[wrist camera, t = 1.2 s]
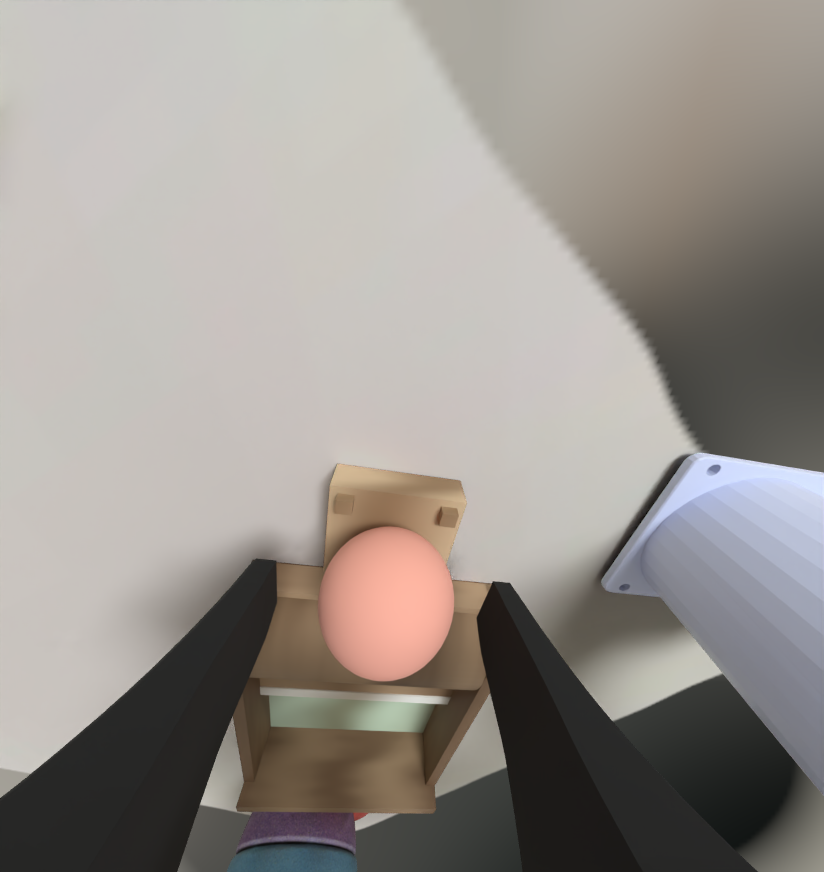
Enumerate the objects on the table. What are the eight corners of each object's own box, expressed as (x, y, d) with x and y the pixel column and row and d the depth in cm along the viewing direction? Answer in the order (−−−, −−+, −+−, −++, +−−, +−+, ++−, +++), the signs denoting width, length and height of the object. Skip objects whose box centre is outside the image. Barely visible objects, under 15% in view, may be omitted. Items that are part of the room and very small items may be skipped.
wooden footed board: (460, 480, 12) (469, 510, 11) (434, 564, 15) (437, 599, 13) (337, 463, 12) (327, 492, 10) (329, 553, 14) (320, 588, 12)
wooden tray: (482, 540, 18) (525, 675, 12) (425, 683, 25) (433, 813, 19) (276, 516, 17) (201, 655, 10) (279, 675, 24) (237, 811, 18)
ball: (457, 508, 11) (487, 630, 7) (431, 585, 13) (444, 715, 9) (337, 493, 11) (300, 614, 7) (330, 575, 13) (297, 707, 9)
